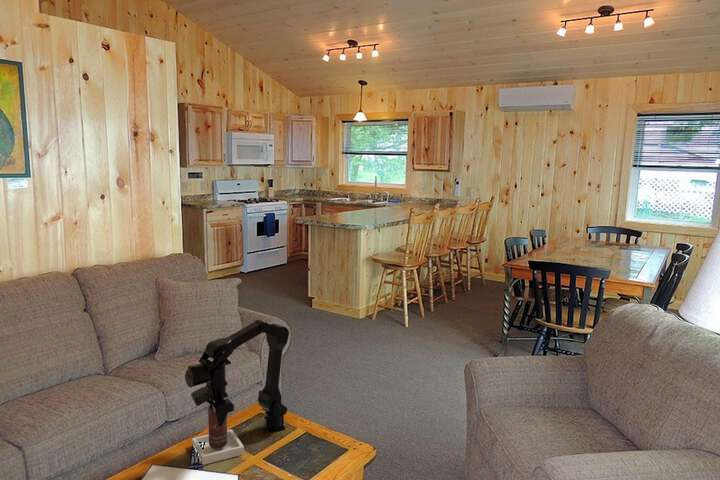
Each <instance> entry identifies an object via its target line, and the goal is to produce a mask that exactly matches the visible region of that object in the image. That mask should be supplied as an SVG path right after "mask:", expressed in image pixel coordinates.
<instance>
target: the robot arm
mask: <svg viewBox="0 0 720 480" xmlns="http://www.w3.org/2000/svg"><path fill="white" fill-rule="evenodd" d="M262 333H264V334H265V338H266V343H267V346H268V357H267V365H266V377H265V385H264V387H263V388H262V390H261V389H260V390H258V396H257V402H258V405H259V406H260V408H262V410H263V411H265V413H264V416H263V428H265V430H266V431H267V432H268V433H269V434H270V433H274V432H275V433H277V432H279V431H284V430H286V427H285V422H284V421H285V419H284V417H285V415H286V414H287V412H288V407H287V406H285V404H282V394H281V391H280V388H279V386H280V385H279V384H280V377H281V367H282V359H283V357H282V356H283V349H285V347H286V345H287V343H288V340H289V336H290V331H289V329H288V328H287V327H286V326H283V325H282V324H281V325H280V324H277V323H271V324H270V323H269V322H267V321H265V320H261V319H256V320H254V321H253V322H252V323H250V324H248V325H246V326H245V327H243V328H241V329H240V330H238V331H236V332H234V333H232V334H231V335H229V336H226V337H222V338H217V339H214V340H212V341H210V342H208V343H207V344H206V345H205V350H204V352H203V353H202V354H201V357H199V360H198V363H197V364H193V365H192V364H191V365H188V366H187V369H186V370H185V374H184V379H185V383H186V385H187V387H189V388H193V387H196V386H199V385H204V384H205V386H202V387H200V388H199V389H197V390H194V391H193V392H191V393H190V396H191V398H192V401H193V403H194V404H195V406H196V407H198V406H201V405H203V404H204V403H207V404H209V406H210V405H211V404H213V409H212V411H213V412H214V413H215V414H216V416H217V421H218V425H219V426H222V425H223V422H224V420H225V418H226V416H227V417H228V414H229V413H231V412H234V411H235V404H234V403H233V402H232V401H231V400H230V398H229V399H228V397H229V395H228V393H227V386H228V385H229V384H228V381H227V376H226V374H227V373H226V372H227V368H226V366H228V365H231V364H232V361H231V360H229V359H228V358H229V357H230V356H231V355H232V354H233V353H234V350H236V349H237V348H239V347H241V346H242V345H244V344H245V343H247V342H249V341H251V340H253V339H254V338H257V336H260V335H261V334H262ZM210 359H211V360H210ZM225 398H227V399H225Z"/></svg>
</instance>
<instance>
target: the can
mask: <svg viewBox="0 0 720 480" xmlns="http://www.w3.org/2000/svg"><path fill="white" fill-rule="evenodd" d="M212 409H213V404H211V405H210V404H209V406H208V408H207V412H208V413H207V414H208V418H207V421H208V424H207V425H208V435H209V445H210V447H211V448H214V449H218V448H222V447H224V446H225V445H226V444H227V430H228V420H227V419H228V418H227V417H228V415H227V416H226V418H225V420H224V422H223V425H222V426H219V425H218V421H217V416H216V414H215V413H214V412H213V411H212Z"/></svg>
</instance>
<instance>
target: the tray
mask: <svg viewBox="0 0 720 480" xmlns="http://www.w3.org/2000/svg"><path fill="white" fill-rule="evenodd" d="M191 441H192V446H193V445H194V446H195V448H196V450H197V452H198V454H199V457H200V459H201V461H200V463H201V462H202V463H201V465H202V466H205V465H209V464H212V463H215V462H220V461H224V460H227V459H232V458H234V457H235V458H236V457H239V456H243V455H245V446H244V444H243V443H242V441H241V440H240V439H239V438H238V436H237V435H236V432H235V431H234V430H233V429H227V444H226V445H225V446H224V447H222V448H218V449H214V448H211V447H210V445H209V434H205V435H201V436H197V437H193V438H192V440H191ZM199 442H205V445H204V449H203V451H202V449H201V447H200V445H199ZM199 457H198V458H199ZM200 459H199V460H200Z"/></svg>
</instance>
